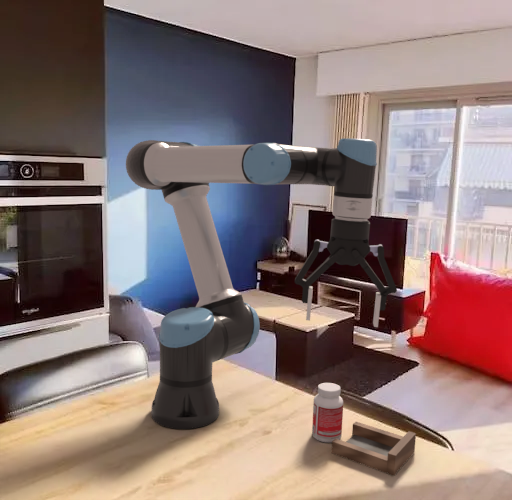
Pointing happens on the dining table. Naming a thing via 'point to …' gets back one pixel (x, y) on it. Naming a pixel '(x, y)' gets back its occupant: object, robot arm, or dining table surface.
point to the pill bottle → (327, 413)
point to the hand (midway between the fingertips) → (341, 322)
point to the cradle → (376, 448)
